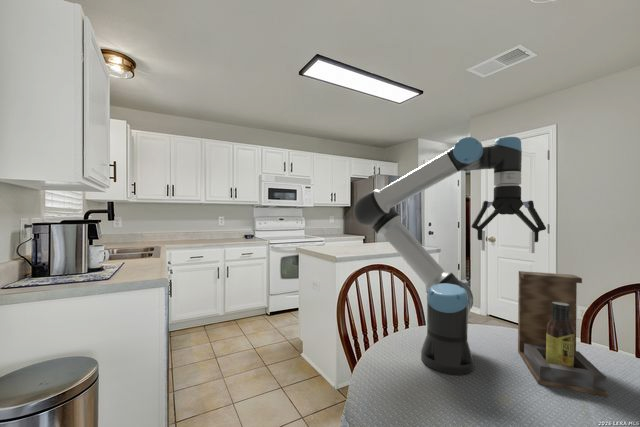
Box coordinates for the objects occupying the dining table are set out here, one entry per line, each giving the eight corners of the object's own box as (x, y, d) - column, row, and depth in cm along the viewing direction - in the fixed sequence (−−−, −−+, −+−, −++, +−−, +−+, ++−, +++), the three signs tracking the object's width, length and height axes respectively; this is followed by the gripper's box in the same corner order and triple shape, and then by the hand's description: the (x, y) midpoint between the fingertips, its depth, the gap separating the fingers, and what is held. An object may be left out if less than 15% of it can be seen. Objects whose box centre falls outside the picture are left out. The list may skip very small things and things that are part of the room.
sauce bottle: (567, 380, 80) (567, 308, 80) (541, 369, 85) (541, 302, 85) (578, 374, 83) (578, 305, 83) (552, 364, 88) (553, 299, 88)
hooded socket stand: (537, 383, 80) (538, 283, 80) (517, 351, 98) (518, 271, 98) (608, 396, 74) (609, 289, 74) (573, 360, 93) (573, 274, 93)
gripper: (465, 185, 95) (465, 250, 95) (559, 183, 86) (558, 255, 86) (463, 187, 102) (462, 248, 102) (549, 186, 93) (549, 252, 93)
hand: (506, 251), depth 94 cm, fingers open, 13 cm apart
